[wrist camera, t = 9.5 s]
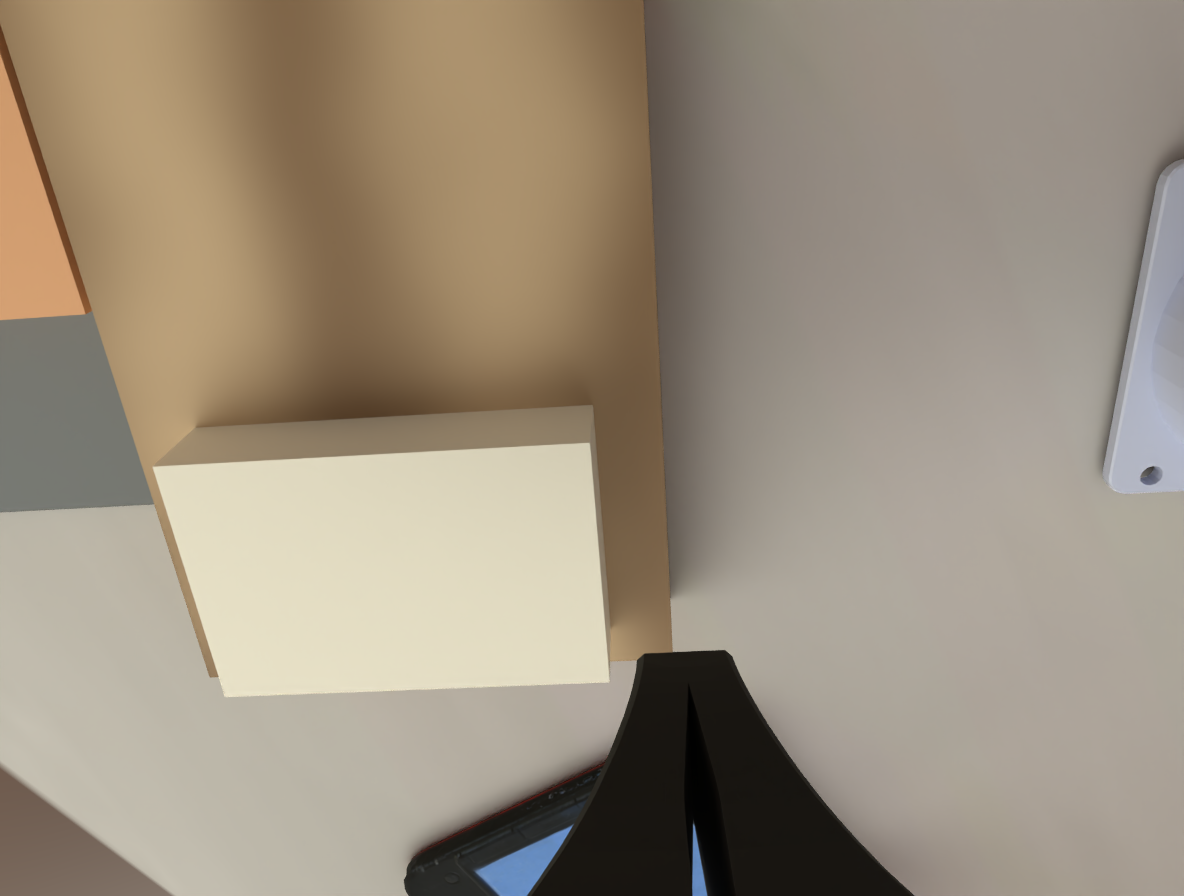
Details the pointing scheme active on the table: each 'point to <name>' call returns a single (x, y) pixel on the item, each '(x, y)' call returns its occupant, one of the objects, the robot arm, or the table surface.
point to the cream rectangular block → (395, 551)
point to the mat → (63, 420)
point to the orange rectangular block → (31, 218)
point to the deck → (367, 225)
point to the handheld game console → (511, 847)
